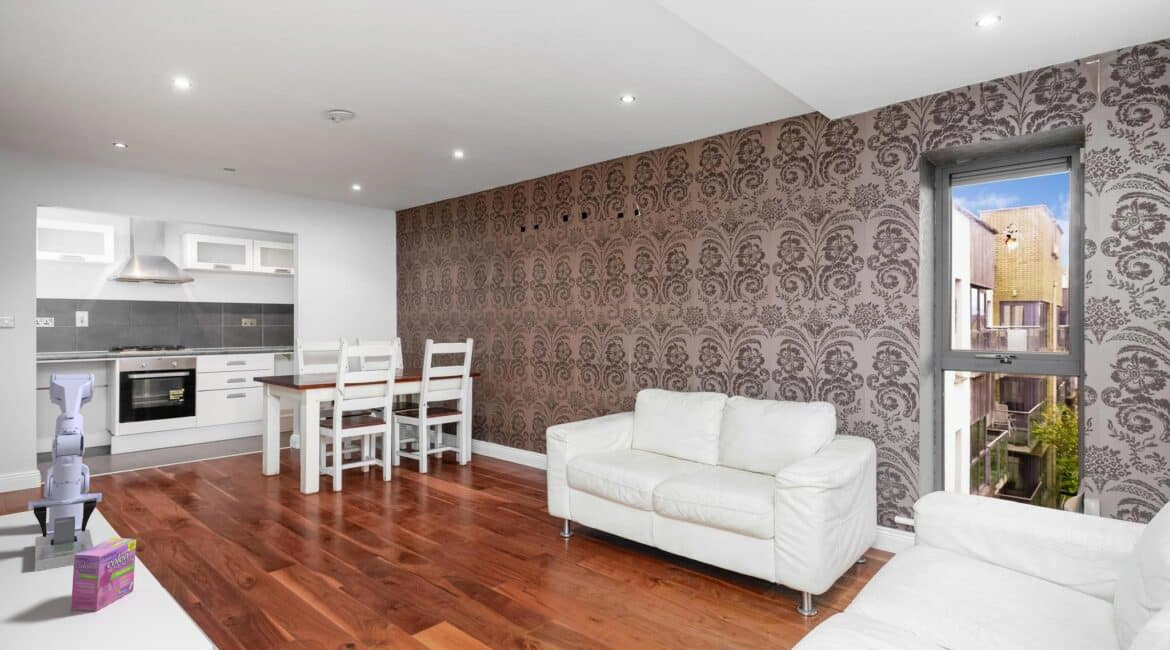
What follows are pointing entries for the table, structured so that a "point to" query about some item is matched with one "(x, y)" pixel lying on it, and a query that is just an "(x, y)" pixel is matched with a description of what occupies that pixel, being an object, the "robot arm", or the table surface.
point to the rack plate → (59, 550)
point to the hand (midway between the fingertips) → (64, 533)
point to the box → (103, 574)
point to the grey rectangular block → (64, 530)
